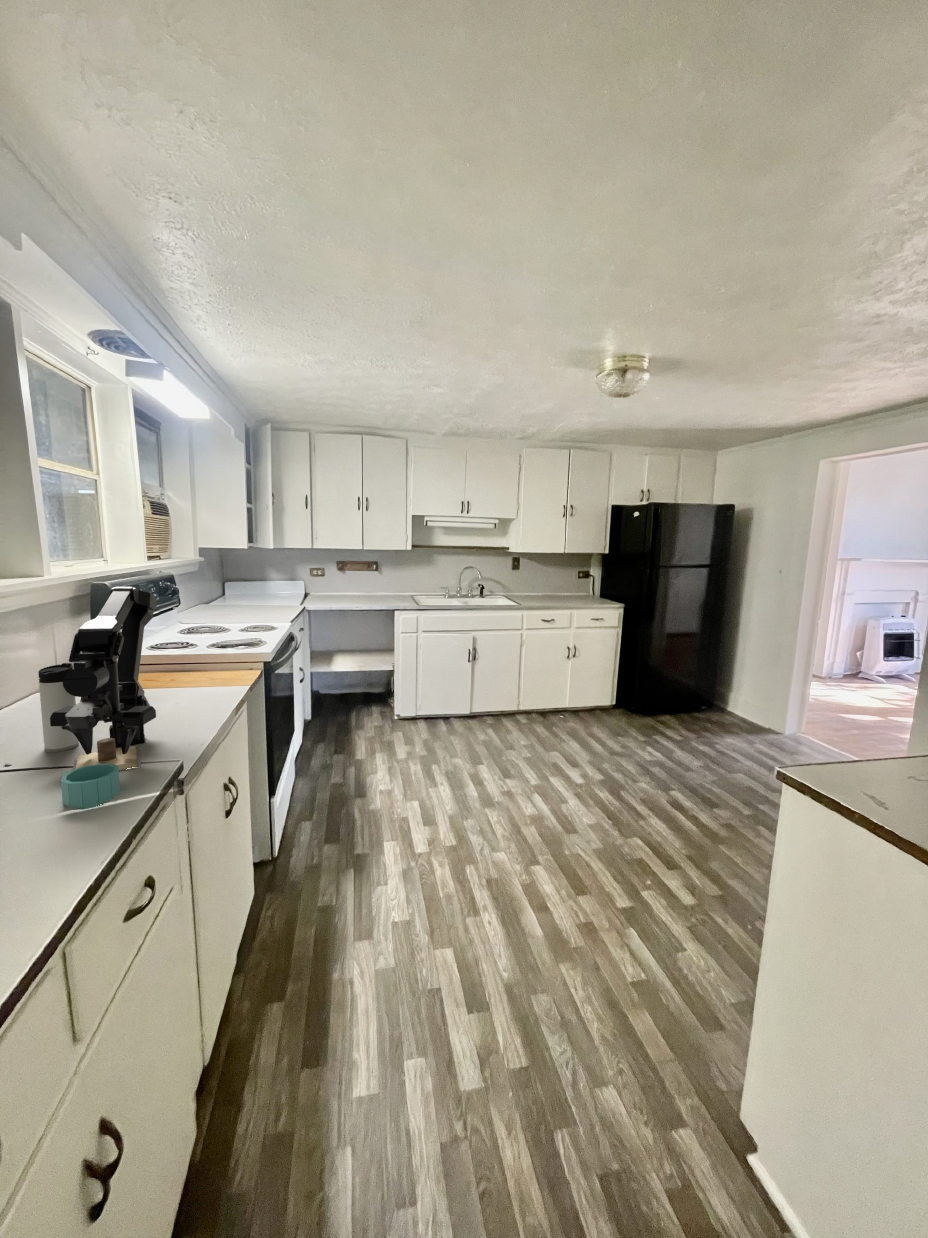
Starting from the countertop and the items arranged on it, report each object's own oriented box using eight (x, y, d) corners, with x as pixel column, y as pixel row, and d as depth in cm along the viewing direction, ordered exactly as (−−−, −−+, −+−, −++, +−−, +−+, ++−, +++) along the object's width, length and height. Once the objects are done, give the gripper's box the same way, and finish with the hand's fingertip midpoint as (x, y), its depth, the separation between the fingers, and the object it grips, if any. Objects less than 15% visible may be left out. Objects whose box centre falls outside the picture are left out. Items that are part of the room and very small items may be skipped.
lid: (135, 750, 114) (134, 729, 113) (136, 766, 105) (135, 743, 105) (79, 760, 108) (77, 737, 107) (75, 778, 100) (73, 753, 99)
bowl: (119, 784, 99) (118, 760, 98) (119, 801, 92) (117, 776, 91) (65, 794, 94) (63, 770, 93) (61, 814, 87) (59, 787, 86)
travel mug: (86, 744, 119) (81, 663, 116) (62, 754, 112) (55, 669, 110) (63, 742, 119) (57, 662, 117) (37, 753, 113) (30, 668, 110)
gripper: (25, 694, 96) (31, 770, 98) (125, 694, 97) (129, 769, 99) (66, 680, 107) (71, 748, 109) (155, 680, 108) (159, 748, 110)
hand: (106, 753), depth 107 cm, fingers open, 7 cm apart
